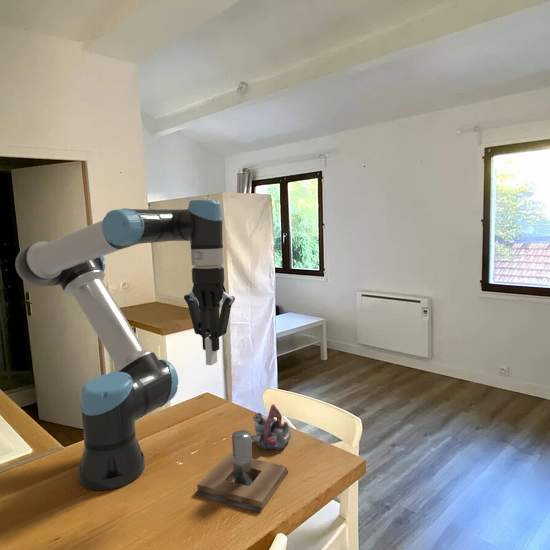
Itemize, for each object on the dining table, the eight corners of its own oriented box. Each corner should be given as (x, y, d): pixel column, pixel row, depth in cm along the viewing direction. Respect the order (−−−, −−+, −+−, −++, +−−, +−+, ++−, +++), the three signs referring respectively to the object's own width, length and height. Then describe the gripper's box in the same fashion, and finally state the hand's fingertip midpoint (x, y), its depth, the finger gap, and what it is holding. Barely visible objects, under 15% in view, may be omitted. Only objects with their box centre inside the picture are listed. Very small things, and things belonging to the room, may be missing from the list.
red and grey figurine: (289, 449, 110) (262, 409, 112) (258, 467, 115) (232, 428, 116) (303, 429, 121) (278, 393, 122) (275, 446, 125) (251, 410, 127)
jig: (195, 494, 97) (195, 486, 97) (230, 458, 111) (230, 451, 111) (260, 513, 90) (260, 504, 90) (288, 472, 104) (288, 464, 104)
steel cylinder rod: (230, 486, 99) (228, 437, 98) (239, 476, 103) (237, 428, 102) (247, 491, 98) (245, 441, 96) (255, 480, 102) (254, 432, 100)
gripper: (175, 267, 101) (180, 365, 104) (223, 269, 96) (227, 371, 99) (193, 264, 108) (197, 355, 111) (239, 265, 102) (242, 361, 106)
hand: (211, 363), depth 105 cm, fingers closed
